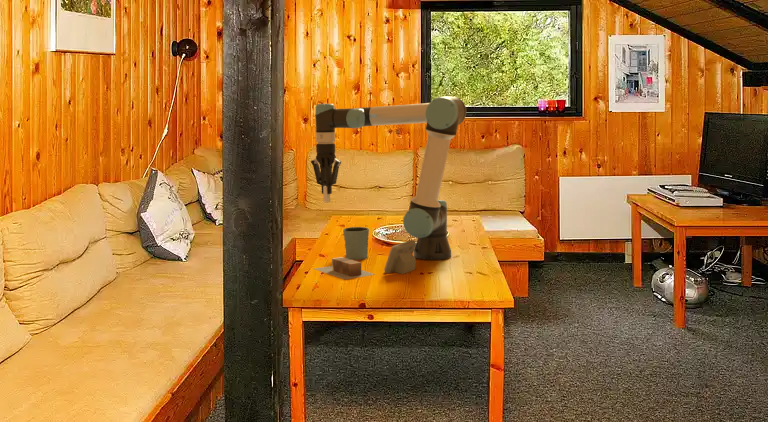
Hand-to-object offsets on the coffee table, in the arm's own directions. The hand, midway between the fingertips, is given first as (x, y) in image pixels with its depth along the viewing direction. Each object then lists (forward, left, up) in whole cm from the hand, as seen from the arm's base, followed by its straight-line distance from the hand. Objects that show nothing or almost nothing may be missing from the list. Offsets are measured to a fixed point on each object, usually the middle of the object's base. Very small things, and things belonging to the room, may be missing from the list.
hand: (326, 202), depth 324 cm
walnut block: (-16, +20, -20) cm, 32 cm away
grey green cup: (-12, -2, -23) cm, 26 cm away
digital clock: (-38, +10, -23) cm, 45 cm away
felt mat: (-20, +22, -22) cm, 37 cm away
